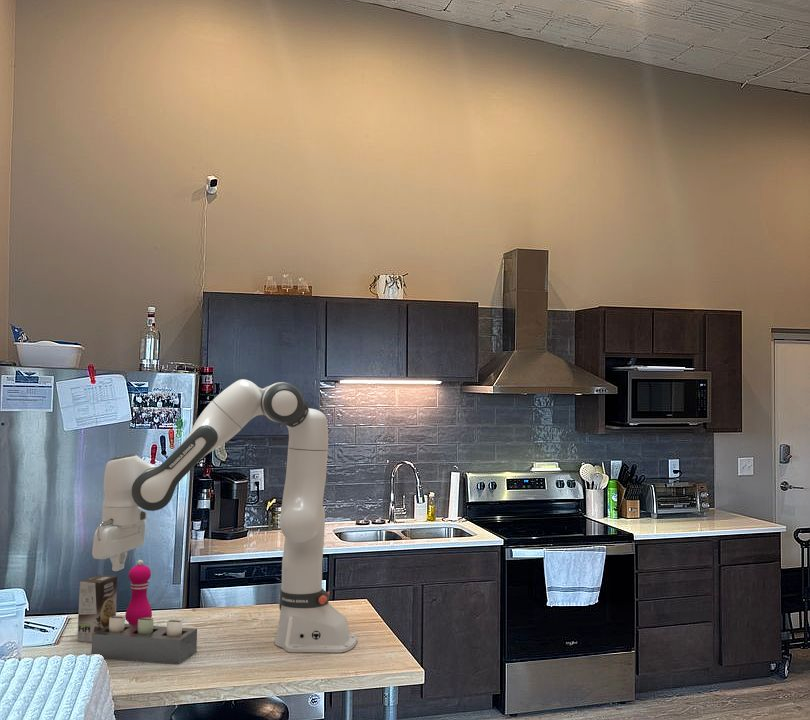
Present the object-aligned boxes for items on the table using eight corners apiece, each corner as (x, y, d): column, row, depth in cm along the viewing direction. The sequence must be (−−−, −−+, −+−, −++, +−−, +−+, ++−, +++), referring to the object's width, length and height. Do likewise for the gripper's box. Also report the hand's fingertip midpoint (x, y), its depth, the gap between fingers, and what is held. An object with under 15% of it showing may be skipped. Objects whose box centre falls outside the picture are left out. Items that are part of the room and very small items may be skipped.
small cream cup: (127, 633, 208) (127, 615, 209) (119, 637, 205) (120, 619, 205) (113, 632, 209) (114, 614, 209) (105, 636, 205) (106, 618, 205)
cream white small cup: (184, 637, 206) (184, 619, 206) (177, 641, 202) (178, 623, 202) (170, 636, 206) (171, 618, 206) (163, 641, 203) (164, 622, 203)
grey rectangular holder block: (196, 651, 208) (197, 628, 208) (179, 664, 198) (180, 640, 199) (112, 645, 212) (112, 623, 212) (91, 657, 202) (92, 633, 203)
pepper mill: (146, 634, 222) (148, 562, 223) (120, 634, 222) (123, 562, 223) (155, 627, 229) (157, 557, 230) (130, 626, 230) (132, 556, 231)
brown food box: (97, 643, 214) (99, 582, 215) (76, 641, 216) (78, 581, 216) (116, 633, 223) (118, 575, 224) (95, 631, 225) (97, 573, 225)
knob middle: (155, 635, 207) (156, 617, 207) (148, 639, 203) (148, 621, 203) (141, 634, 208) (142, 616, 208) (134, 638, 204) (135, 620, 204)
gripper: (110, 523, 197) (107, 579, 197) (150, 511, 218) (148, 562, 217) (86, 522, 198) (84, 578, 198) (128, 510, 219) (126, 561, 218)
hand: (118, 569), depth 208 cm, fingers closed
